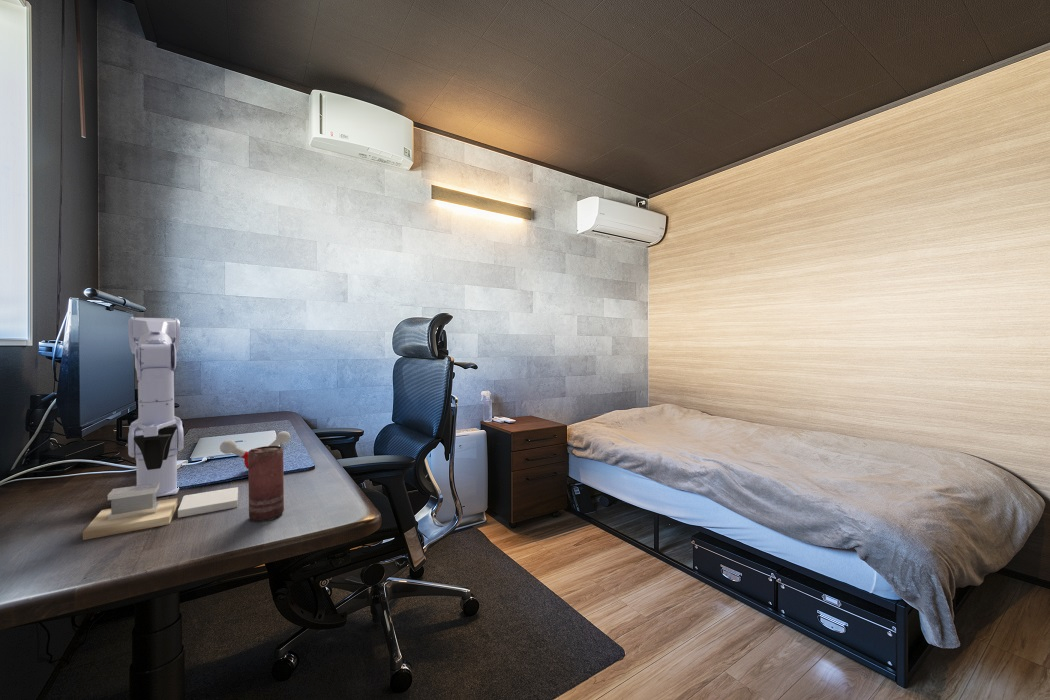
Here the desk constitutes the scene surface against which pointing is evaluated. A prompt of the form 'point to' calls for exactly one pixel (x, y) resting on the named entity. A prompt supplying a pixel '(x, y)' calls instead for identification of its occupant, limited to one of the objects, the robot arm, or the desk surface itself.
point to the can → (265, 483)
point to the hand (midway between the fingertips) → (157, 464)
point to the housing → (133, 501)
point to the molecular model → (231, 447)
